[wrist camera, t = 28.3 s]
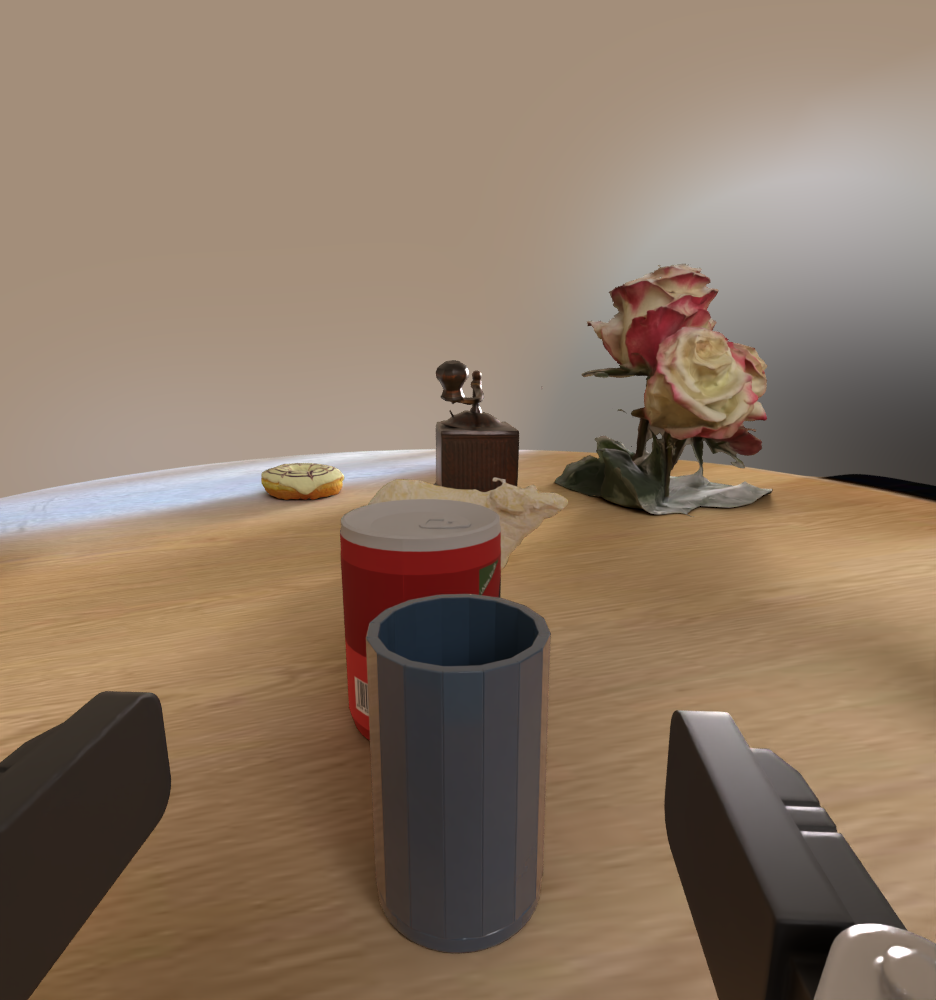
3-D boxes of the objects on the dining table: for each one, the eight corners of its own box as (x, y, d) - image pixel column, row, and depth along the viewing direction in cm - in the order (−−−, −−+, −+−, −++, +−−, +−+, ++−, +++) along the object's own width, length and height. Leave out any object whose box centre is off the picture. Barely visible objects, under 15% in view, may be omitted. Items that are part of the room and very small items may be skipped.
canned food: (511, 751, 31) (515, 534, 28) (344, 765, 30) (332, 541, 27) (486, 673, 38) (487, 496, 35) (352, 682, 37) (343, 500, 34)
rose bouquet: (675, 527, 70) (698, 238, 63) (536, 480, 95) (542, 271, 89) (828, 503, 81) (862, 255, 74) (666, 467, 106) (680, 280, 99)
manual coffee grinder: (430, 486, 91) (428, 359, 87) (505, 484, 92) (507, 358, 88) (437, 512, 76) (435, 360, 72) (527, 510, 77) (530, 360, 73)
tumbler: (573, 872, 23) (584, 623, 21) (465, 992, 19) (465, 694, 17) (455, 799, 27) (453, 581, 25) (343, 884, 23) (329, 630, 21)
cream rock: (333, 600, 54) (393, 525, 43) (342, 526, 58) (399, 438, 47) (490, 627, 60) (580, 567, 49) (489, 557, 64) (572, 486, 52)
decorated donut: (313, 505, 80) (312, 476, 79) (246, 498, 84) (243, 470, 83) (357, 489, 89) (356, 462, 88) (294, 483, 93) (293, 458, 92)
